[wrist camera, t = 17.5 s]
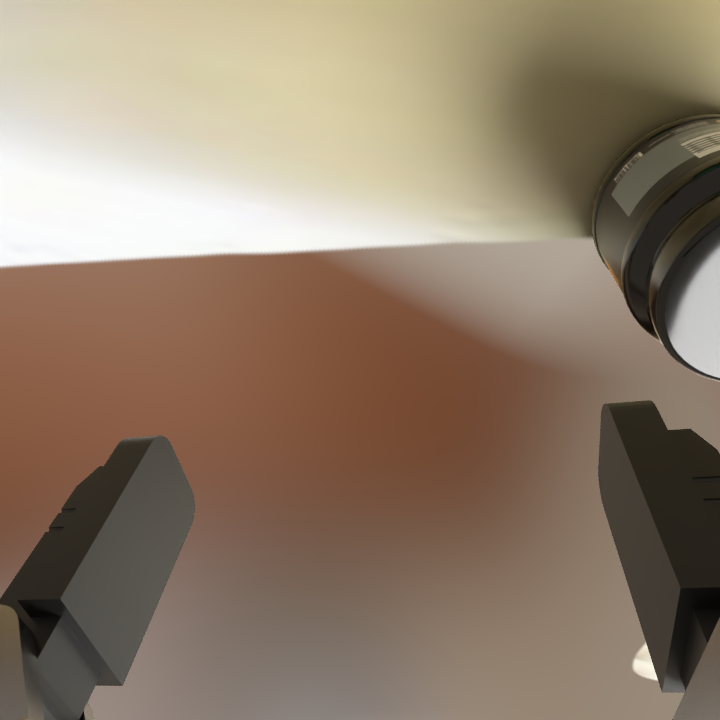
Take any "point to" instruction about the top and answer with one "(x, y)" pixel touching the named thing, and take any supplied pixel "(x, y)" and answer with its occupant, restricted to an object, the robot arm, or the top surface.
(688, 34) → the top surface
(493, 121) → the top surface
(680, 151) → the supplement container
